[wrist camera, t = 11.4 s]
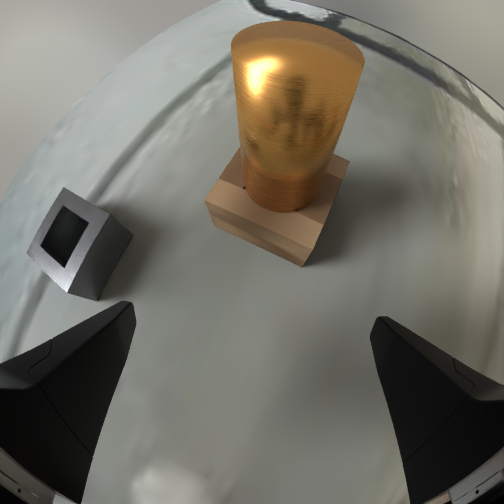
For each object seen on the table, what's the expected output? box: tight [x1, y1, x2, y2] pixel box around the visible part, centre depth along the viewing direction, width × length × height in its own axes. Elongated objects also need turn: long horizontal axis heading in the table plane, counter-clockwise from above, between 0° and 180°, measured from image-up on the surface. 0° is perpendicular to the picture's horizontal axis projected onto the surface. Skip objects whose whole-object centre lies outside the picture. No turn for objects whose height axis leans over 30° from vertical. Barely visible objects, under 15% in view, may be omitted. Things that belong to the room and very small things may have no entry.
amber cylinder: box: [231, 21, 365, 213], centre depth 14 cm, size 5×5×13 cm
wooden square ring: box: [205, 148, 350, 267], centre depth 18 cm, size 7×7×4 cm
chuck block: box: [27, 187, 133, 301], centre depth 18 cm, size 6×6×4 cm
